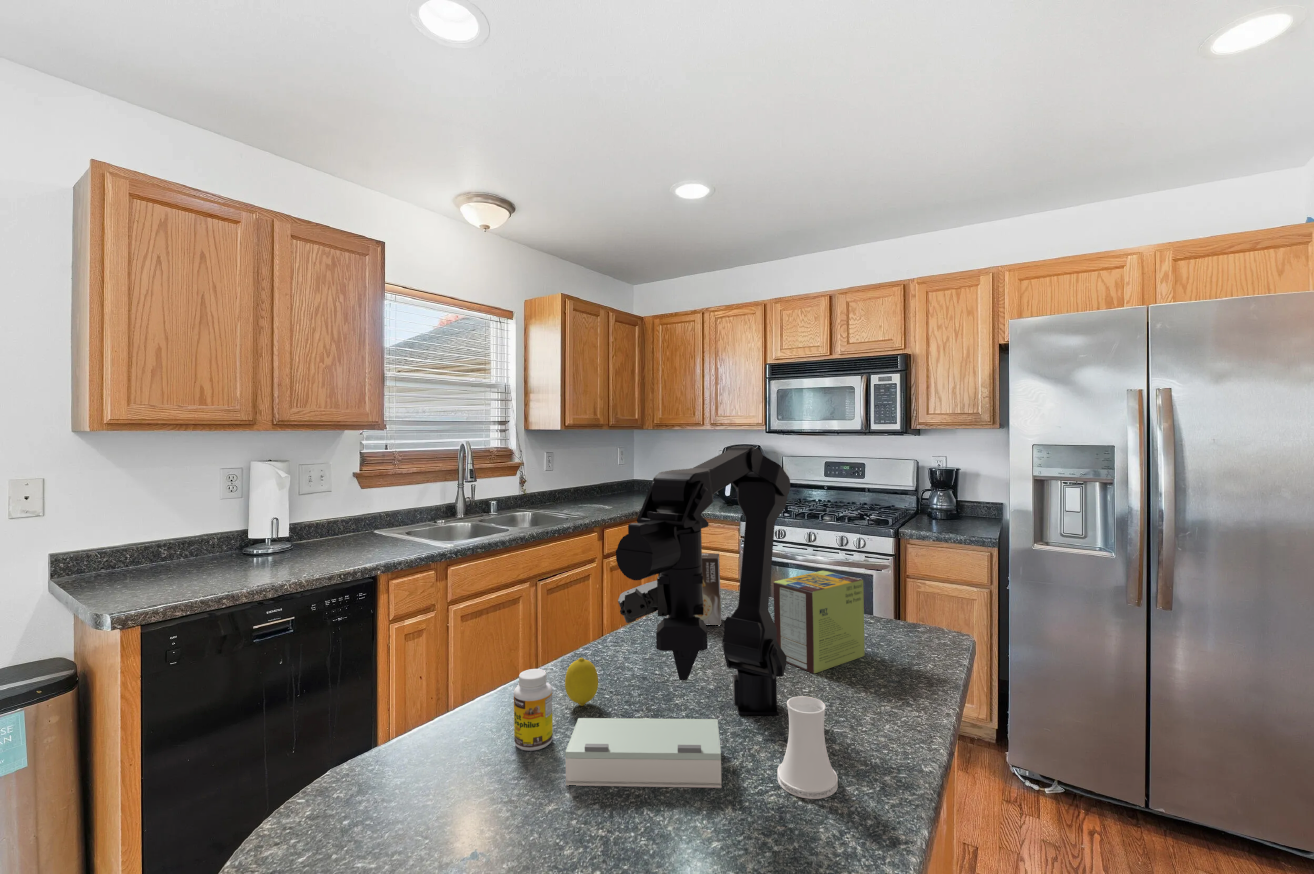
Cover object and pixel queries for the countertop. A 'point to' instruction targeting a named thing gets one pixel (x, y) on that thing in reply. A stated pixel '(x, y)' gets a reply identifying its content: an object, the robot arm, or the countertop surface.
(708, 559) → the coffee box
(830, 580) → the protein box
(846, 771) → the countertop surface
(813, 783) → the vase
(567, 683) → the lemon
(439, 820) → the countertop surface
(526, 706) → the supplement bottle
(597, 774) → the cable duct
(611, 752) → the lid
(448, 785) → the countertop surface
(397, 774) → the countertop surface
